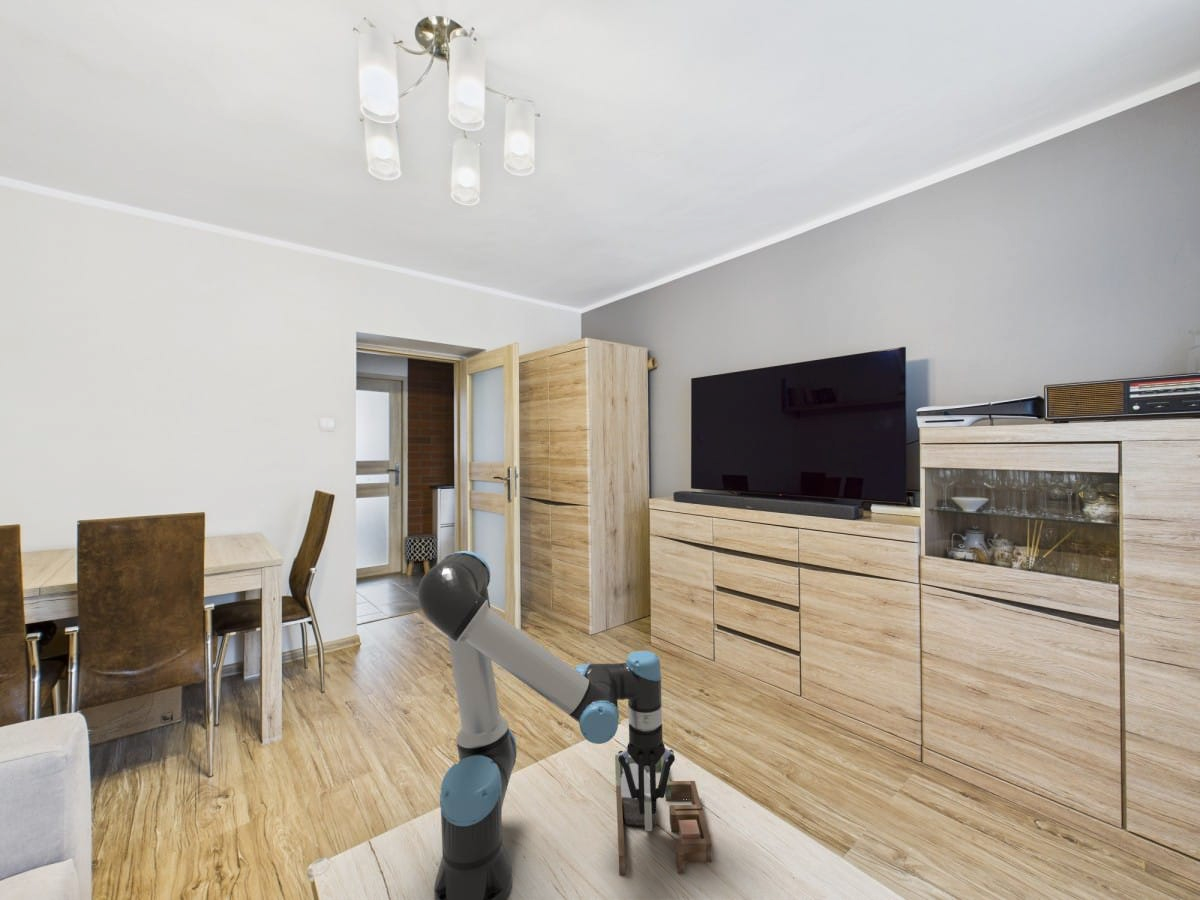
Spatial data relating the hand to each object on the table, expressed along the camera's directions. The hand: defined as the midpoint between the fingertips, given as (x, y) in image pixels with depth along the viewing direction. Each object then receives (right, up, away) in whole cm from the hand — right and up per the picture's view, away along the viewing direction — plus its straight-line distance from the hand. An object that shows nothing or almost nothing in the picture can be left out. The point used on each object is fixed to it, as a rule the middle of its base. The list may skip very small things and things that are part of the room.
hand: (648, 826), depth 114 cm
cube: (+9, -2, -3) cm, 10 cm away
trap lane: (+3, -2, +6) cm, 7 cm away
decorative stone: (-2, -2, +8) cm, 8 cm away
